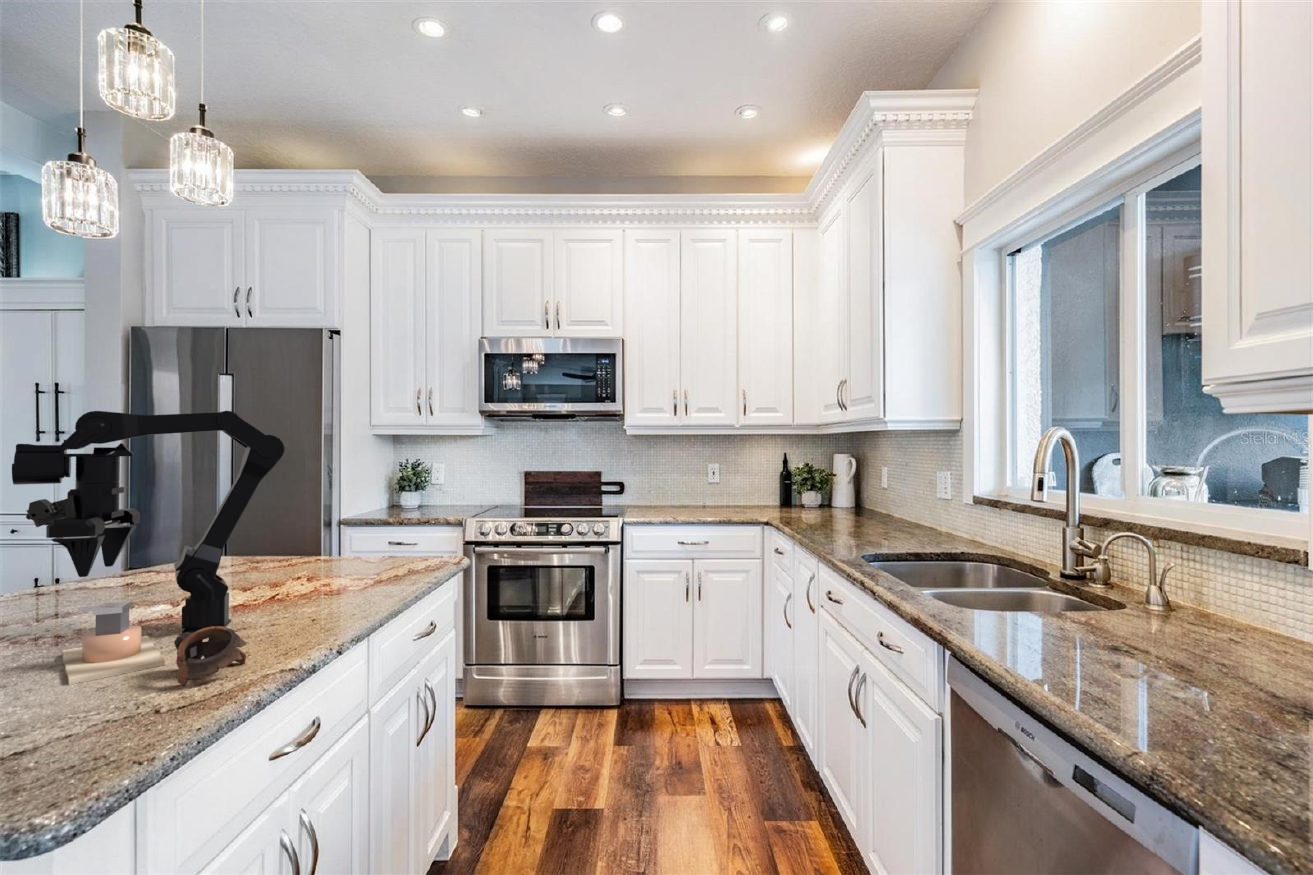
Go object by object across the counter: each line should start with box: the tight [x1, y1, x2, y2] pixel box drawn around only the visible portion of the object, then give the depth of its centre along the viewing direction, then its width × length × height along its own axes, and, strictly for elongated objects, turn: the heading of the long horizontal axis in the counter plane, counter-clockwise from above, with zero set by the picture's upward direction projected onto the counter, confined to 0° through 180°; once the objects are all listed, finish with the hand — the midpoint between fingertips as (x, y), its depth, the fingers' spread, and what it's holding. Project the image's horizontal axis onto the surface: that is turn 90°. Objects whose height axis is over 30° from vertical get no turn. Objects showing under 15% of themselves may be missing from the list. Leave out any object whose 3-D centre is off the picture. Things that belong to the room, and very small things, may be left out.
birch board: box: [61, 635, 165, 686], centre depth 99 cm, size 18×11×1 cm, turn 47°
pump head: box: [77, 600, 133, 616], centre depth 99 cm, size 6×4×4 cm, turn 112°
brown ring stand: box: [174, 626, 247, 686], centre depth 93 cm, size 12×10×8 cm
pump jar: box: [81, 609, 142, 663], centre depth 99 cm, size 7×7×7 cm
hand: (96, 571), depth 106 cm, fingers open, 9 cm apart
